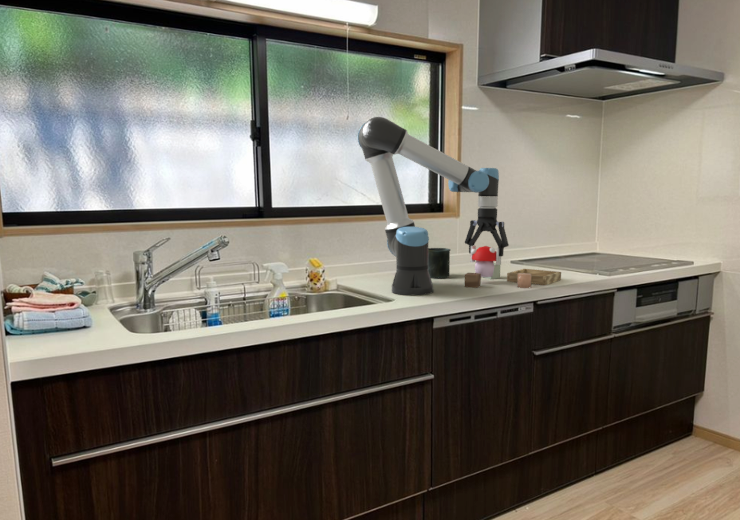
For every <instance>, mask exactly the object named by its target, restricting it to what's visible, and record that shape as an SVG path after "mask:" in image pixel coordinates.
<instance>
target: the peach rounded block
mask: <svg viewBox="0 0 740 520" xmlns="http://www.w3.org/2000/svg"><path fill="white" fill-rule="evenodd" d="M516 283H517V288H519V287H520V289H530V288H529V287H531V288H532V284H531V274H529V273H518V282H516Z"/></svg>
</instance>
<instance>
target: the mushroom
mask: <svg viewBox="0 0 740 520" xmlns="http://www.w3.org/2000/svg"><path fill="white" fill-rule="evenodd" d="M471 253H472V254H473V257H472V259H473V260H475V264H474V271H475V272H474V273H481V278H483V277H492V276H493V271H494V263H495V262H496V253H497V250H496V248H495V247H493V246H492V247H491V246H487V245H484V246H480V247H478V248H476V249H472V251H471Z"/></svg>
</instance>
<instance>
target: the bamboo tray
mask: <svg viewBox="0 0 740 520" xmlns="http://www.w3.org/2000/svg"><path fill="white" fill-rule="evenodd" d="M518 273H529V274H531V285H538V284H539V285H540V286H548V285H551V284H553V283H556V282H558V280H559V281H561V280H562V272H561V271H557V270H556V271H554V270H545V269H534V268H533V269H532V268H522V269H518V270H514V271H511V272H507V273H506V282H512V283H517V282H518ZM555 281H556V282H555ZM547 284H548V285H547ZM539 285H538V286H539Z"/></svg>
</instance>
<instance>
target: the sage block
mask: <svg viewBox="0 0 740 520" xmlns="http://www.w3.org/2000/svg"><path fill="white" fill-rule="evenodd" d="M482 278H483V279H487V280H497V279H501V264H500V265H496V262H494V271H493V276H492V277H482Z"/></svg>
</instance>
